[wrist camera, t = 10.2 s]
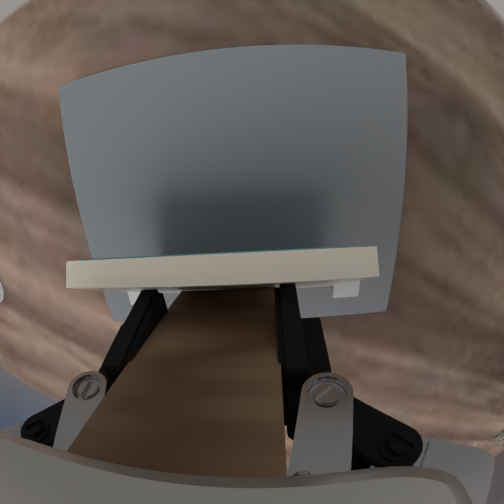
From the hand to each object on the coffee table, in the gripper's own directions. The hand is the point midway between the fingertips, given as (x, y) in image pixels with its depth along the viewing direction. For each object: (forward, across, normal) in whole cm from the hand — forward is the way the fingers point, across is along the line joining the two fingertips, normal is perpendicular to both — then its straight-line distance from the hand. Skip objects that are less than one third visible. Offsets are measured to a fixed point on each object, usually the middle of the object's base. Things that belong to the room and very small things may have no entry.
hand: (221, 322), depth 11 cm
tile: (+3, 0, 0) cm, 3 cm away
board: (+9, 0, -2) cm, 10 cm away
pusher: (+2, 0, +2) cm, 3 cm away
